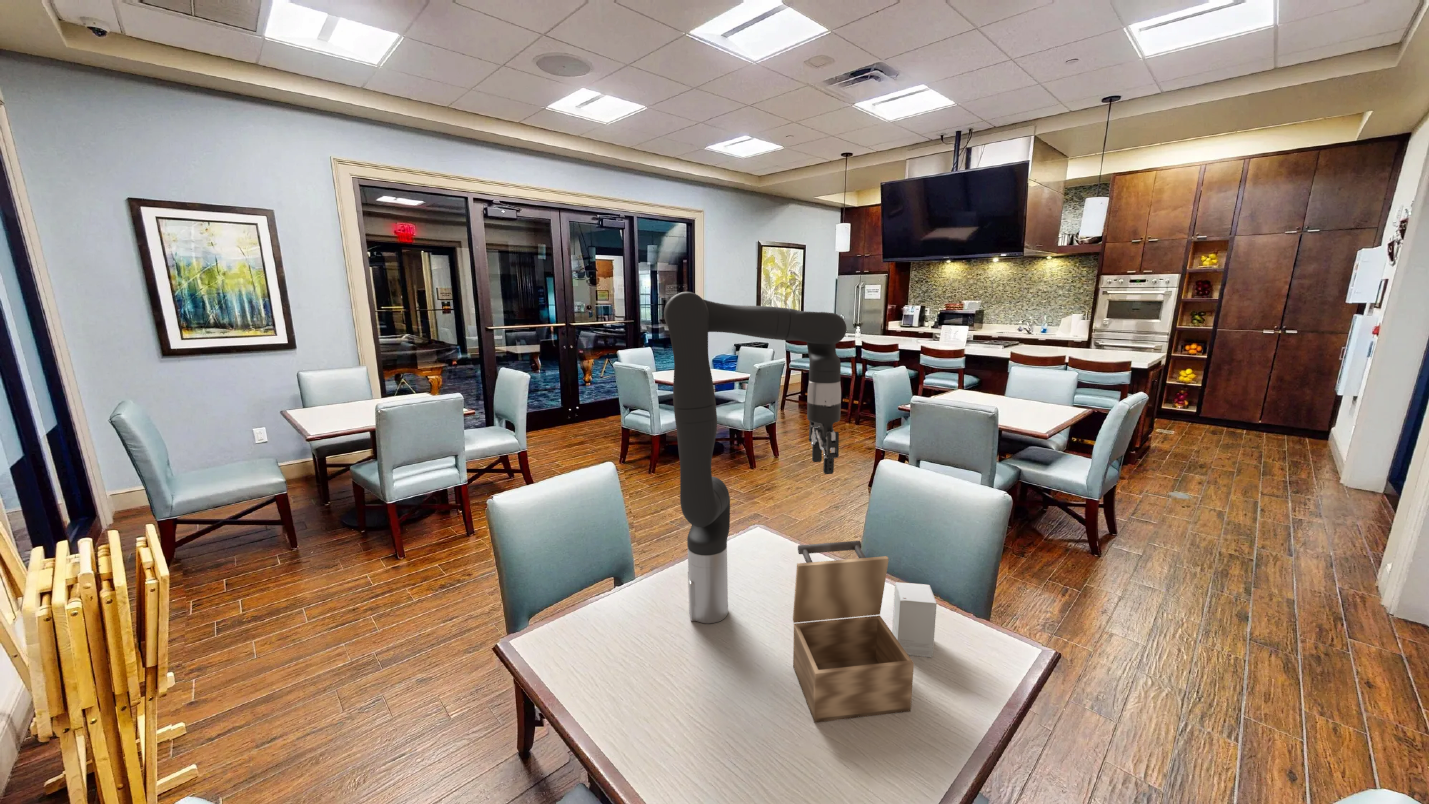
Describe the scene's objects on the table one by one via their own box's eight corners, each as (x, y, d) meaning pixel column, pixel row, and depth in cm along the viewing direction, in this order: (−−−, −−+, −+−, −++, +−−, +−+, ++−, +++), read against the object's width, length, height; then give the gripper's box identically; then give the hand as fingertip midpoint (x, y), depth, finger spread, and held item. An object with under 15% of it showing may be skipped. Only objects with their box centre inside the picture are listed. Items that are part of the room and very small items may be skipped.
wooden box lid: (798, 566, 98) (786, 537, 106) (793, 622, 103) (783, 591, 111) (888, 558, 100) (870, 531, 108) (879, 614, 105) (863, 584, 113)
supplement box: (933, 658, 107) (937, 603, 104) (896, 654, 108) (899, 600, 106) (926, 635, 114) (930, 584, 111) (891, 632, 115) (894, 580, 113)
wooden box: (814, 722, 92) (815, 673, 89) (793, 667, 105) (793, 623, 103) (910, 711, 94) (913, 663, 91) (877, 658, 107) (879, 615, 105)
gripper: (799, 395, 125) (798, 459, 128) (817, 407, 111) (816, 479, 114) (829, 393, 126) (827, 457, 129) (851, 406, 112) (848, 476, 115)
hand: (822, 467), depth 122 cm, fingers open, 8 cm apart
